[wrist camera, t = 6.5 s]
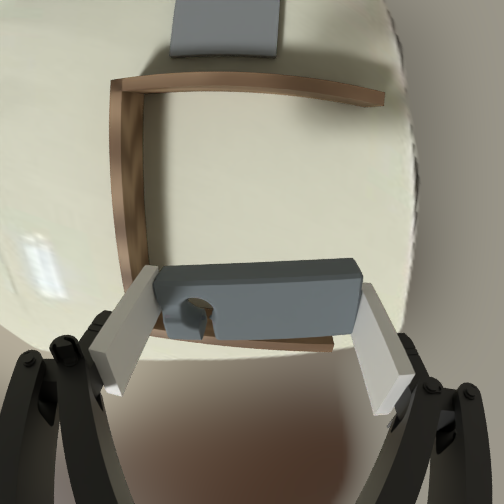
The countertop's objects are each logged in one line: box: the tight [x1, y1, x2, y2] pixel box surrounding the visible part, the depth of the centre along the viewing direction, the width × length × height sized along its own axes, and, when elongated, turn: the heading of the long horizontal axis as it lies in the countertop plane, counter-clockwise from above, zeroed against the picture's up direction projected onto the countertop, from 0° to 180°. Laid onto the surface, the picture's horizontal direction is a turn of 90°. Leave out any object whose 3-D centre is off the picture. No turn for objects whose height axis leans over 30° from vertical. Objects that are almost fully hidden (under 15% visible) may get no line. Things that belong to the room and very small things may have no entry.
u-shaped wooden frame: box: [109, 72, 385, 352], centre depth 28 cm, size 27×23×5 cm
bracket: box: [153, 258, 363, 340], centre depth 15 cm, size 4×10×2 cm, turn 94°
